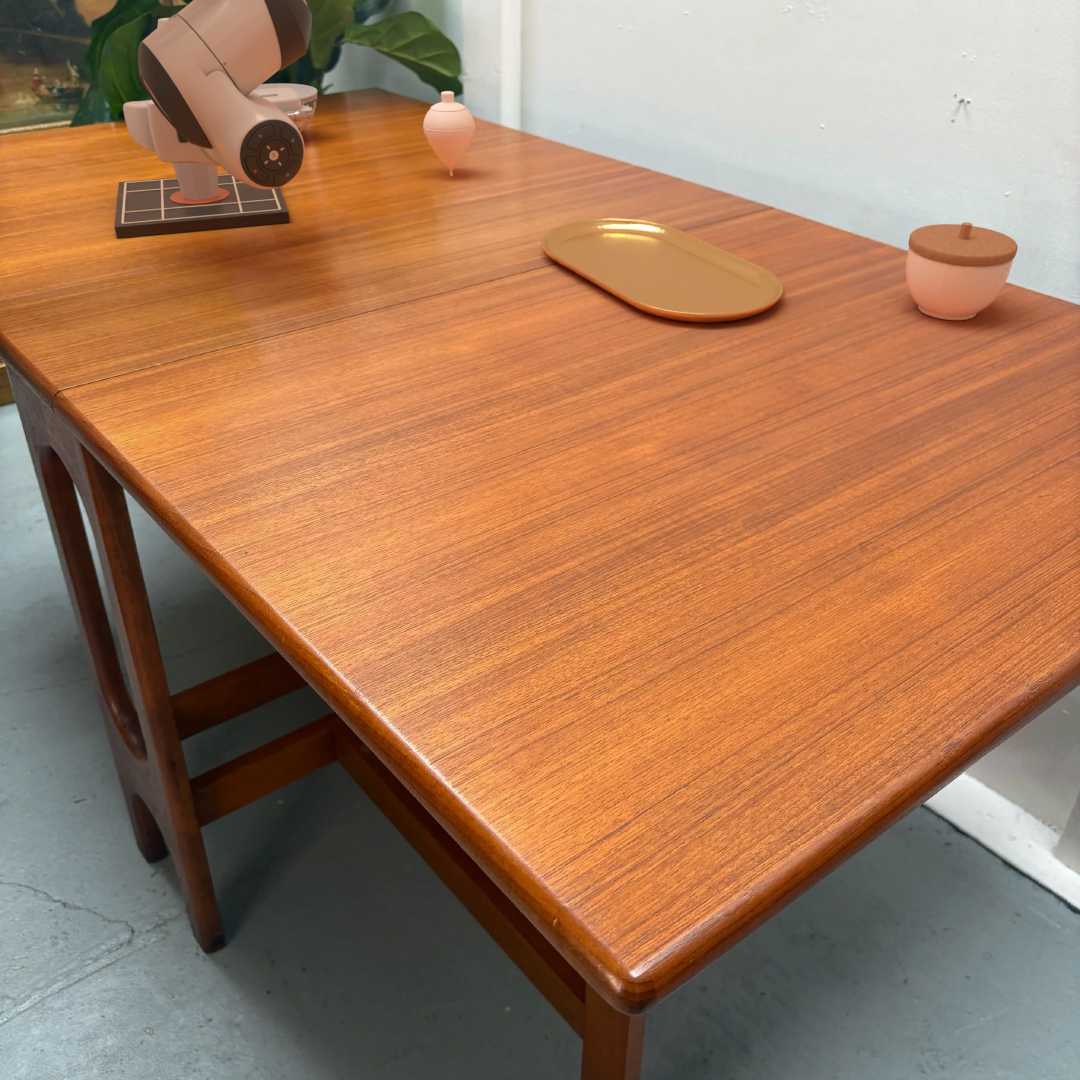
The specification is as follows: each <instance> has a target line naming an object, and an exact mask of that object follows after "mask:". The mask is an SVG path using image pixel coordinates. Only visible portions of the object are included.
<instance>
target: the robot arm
mask: <svg viewBox="0 0 1080 1080" xmlns="http://www.w3.org/2000/svg"><path fill="white" fill-rule="evenodd" d="M168 18H169V19H168V20H167V21H166V22H164V23H163V24H162V25H161V26H159V27H158V26H157V28H156V29H154V30H153V31H152V32H150V34H149V35H147V36H146V37H145V38H144V39H143V40H142V41H140V42H139V45H138V50H137V64H138V74H139V80H140V82H141V84H142V87H143V89H144V90H145V92H146V94H147V95H148V97H149V98H150V99H149V100H148V99H147V100H138V101H137V100H135V101H128V102H125V103H124V104H123V106H122V111H123V116H124V122H125V126H126V129H127V133H128V135H129V137H130V138H131V139H132V141H134V142H135V143H136V144H137V145H139V146H140V147H142V148H143V149H145V150H147V151H150V152H154V153H155V154H156V156H157V157H156V158H157V159H158V161H160V162H162V163H172V162H174V163H204V164H210V165H215V166H217V167H221V168H222V169H223V170H224V171H226V173H227V174H230V175H232V176H233V177H235V178H236V179H238V180H239V181H241V182H243V183H245V184H247V185H249V186H252V187H255V188H258V189H265V190H267V189H275V188H281V187H284V186H285V185H287V184H289V183H290V182H291V181H293V179H295V177H296V176H297V175H298V174H299V172H300V170H301V168H302V167H303V163H304V161H305V153H306V152H305V151H306V149H305V142H304V141H305V140H304V138H303V136H302V132H301V133H300V131H299V130H298V128H300V127H302V125H303V120H305V119H306V117H312V118H313V117H314V115H315V112H314V111H313V109H312V108H310V107H308V106H304V105H301V99H300V96H299V95H298V93H297V92H296V91H295V90H293V89H292V88H287V87H278V88H269V89H258V90H255V89H256V88H257V87H258V86H260V85H261V84H264V83H265V82H266V81H267V80H269V79H270V78H271V77H272V76H273V75H275V74H276V73H277V72H281V71H282V70H284V69H285V68H287V67H288V66H290V65H291V64H293V63H294V62H296V61H297V60H299V59H300V58H302V57H303V56H305V55H306V54H307V52H308V49H309V45H310V39H311V33H312V27H313V26H312V24H313V14H312V12H311V10H310V8H309V7H308V4H307V2H306V0H191V2H189V3H188V4H187V5H186V6H185V7H184V8H182V9H180V11H178V12H176V14H175V13H174V14H173V15H172V16H170V17H168ZM313 114H314V115H313Z"/></svg>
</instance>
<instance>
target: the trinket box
mask: <svg viewBox="0 0 1080 1080" xmlns="http://www.w3.org/2000/svg"><path fill="white" fill-rule="evenodd" d="M907 245H908V249H907V254H906V260H905V271H904V272H905V283H906V288H907V290H908V293H909V295H910V296H911V298H912V300H913V301H914V302H915V304H916V305H917V309H918V311H920V312H921V313H922V314H924V315H927V316H929V317H931V318H936V319H939V320H946V321H966V320H969V319H973V318H975V317H976V315H977V314H978V313H979V312H981V311H983V310H984V309H986V308H988V307H989V306H990V305H991V304H992V303H993V302H994V301H995V300H996V299H997V298H998V296H999V295H1000V294H1001V292H1002V291H1003V288H1004V286H1005V285H1006V282H1007V280H1008V278H1009V275H1010V273H1011V270H1012V266H1013V262H1014V259H1015V257H1016V255H1017V252H1018V247H1019V246H1018V243H1017V241H1015V240H1014V238H1012V237H1010V236H1009V235H1006V234H1005V233H1002V232H999V231H997V230H993V229H991V228H990V229H989V228H986V227H980V226H975V225H973V223H971V222H967V221H965V222H961V224H954V223H943V224H942V223H939V224H930V225H924V226H920V227H918V228H916V229H914V230H912V231H911V233H910V234H909V238H908V243H907Z"/></svg>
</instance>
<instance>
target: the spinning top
mask: <svg viewBox="0 0 1080 1080" xmlns="http://www.w3.org/2000/svg"><path fill="white" fill-rule="evenodd" d="M440 97H441V101H440V102H437V103H434V104H433V105H431V106H430V108H429V110H428V111H427V113H426V114H425V115H424V118H423V123H422V127H423V133H424V137H425V139H426V140H427V142H428V144H429V146H430V148H431V149H432V151H433V152H434V153H435V155H436V156H437V158H438V159H439V160H440V162H441V163H442V165H444V166H445V168H446V169H447V170H449V176H450V177H453V175H454V173H453V170H454V169H455V168H456V167H457V166H458V164H459V163H460V162H461V161H462V159H463V157H464V156H465V154H466V153H467V150H468V148H469V147H470V144H471V142H472V140H473V137H474V135H475V127H476V124H475V120H474V117H473V115H472V113H471V112H470V111H469V109H468V108H467V107H466V106H465V105H464V104H462V103H460V102H457V101H454V100H455V92H454V91H451V90H445V91H441V93H440Z"/></svg>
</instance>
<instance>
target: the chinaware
mask: <svg viewBox="0 0 1080 1080" xmlns="http://www.w3.org/2000/svg"><path fill="white" fill-rule="evenodd" d="M278 87H287V88H292V89H293V90H295V91H296V92H297V93H298V95H299V96H300V99H301V105H304V106H308V107H310V108H312V109H313V111H314V114H313V116H314V115H315V111H316V109H317V104H318V103H317V102H318V89H317V88H315V87H314V86H311V85H307V84H299V83H262V84H261V85H260V86H258V87H257V88H256V89H255V90H258V89H269V88H278ZM312 119H313V117H306V119H305V120H303V125H302V127H300V128H298V130H299V131H300V133H301V134H302V132H303V131H305V129H306V128H307V127H308V125H309V124H310V122H311V121H312Z"/></svg>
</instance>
